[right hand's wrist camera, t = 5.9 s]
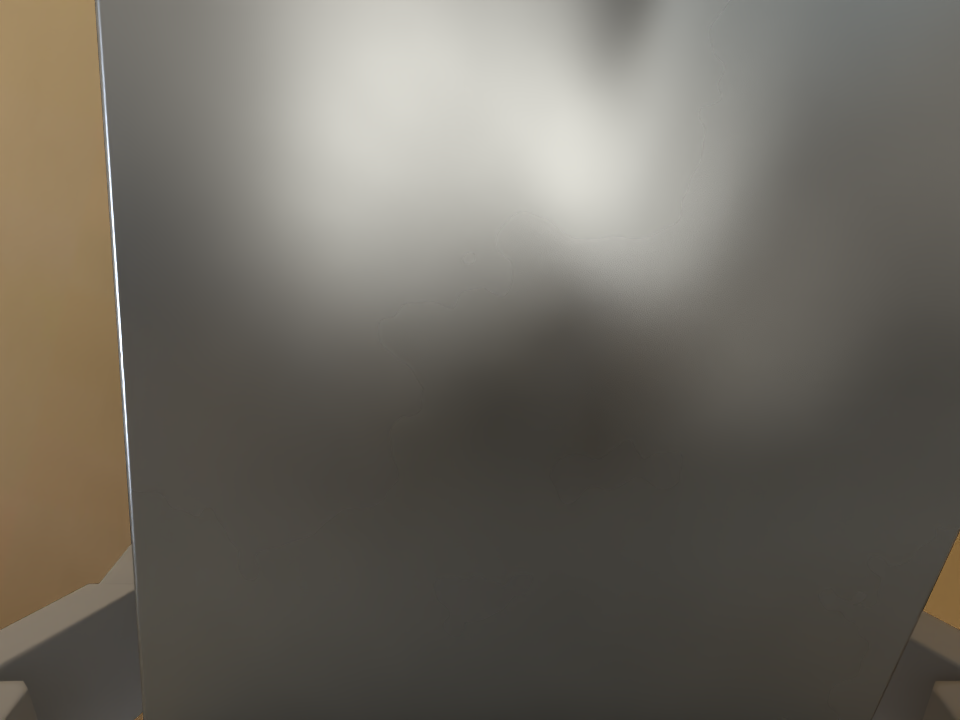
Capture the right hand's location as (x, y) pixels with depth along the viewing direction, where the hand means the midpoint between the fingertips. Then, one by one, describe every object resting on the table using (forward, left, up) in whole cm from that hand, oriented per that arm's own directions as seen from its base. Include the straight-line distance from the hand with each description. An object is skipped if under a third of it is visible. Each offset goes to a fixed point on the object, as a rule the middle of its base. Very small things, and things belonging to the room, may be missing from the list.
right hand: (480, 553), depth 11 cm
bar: (+2, +8, -3) cm, 9 cm away
